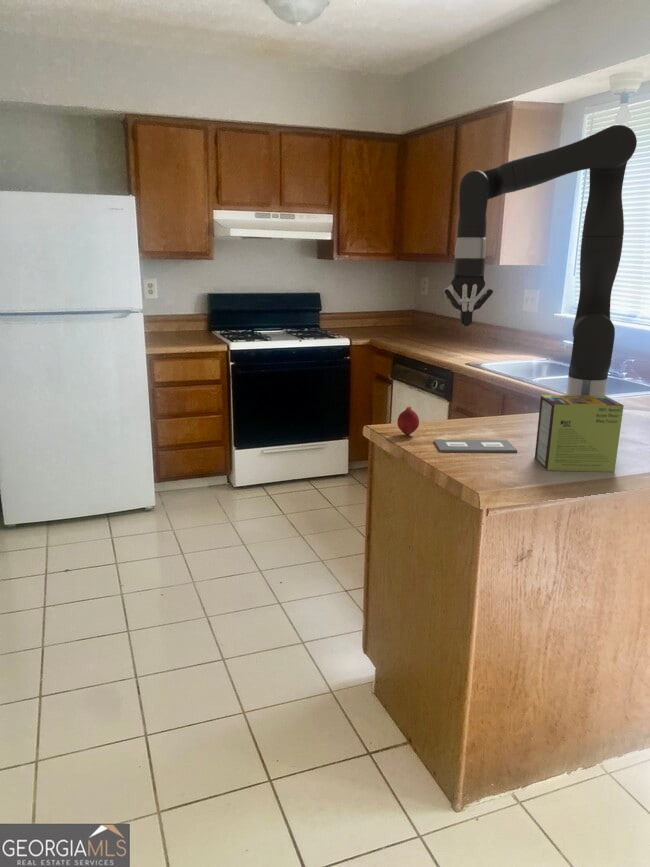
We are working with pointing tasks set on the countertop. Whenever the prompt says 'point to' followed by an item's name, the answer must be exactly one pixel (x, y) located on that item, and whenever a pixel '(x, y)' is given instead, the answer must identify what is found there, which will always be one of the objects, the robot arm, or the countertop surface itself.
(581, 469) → the protein box
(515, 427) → the countertop surface
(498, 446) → the label panel
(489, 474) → the countertop surface
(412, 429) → the onion
